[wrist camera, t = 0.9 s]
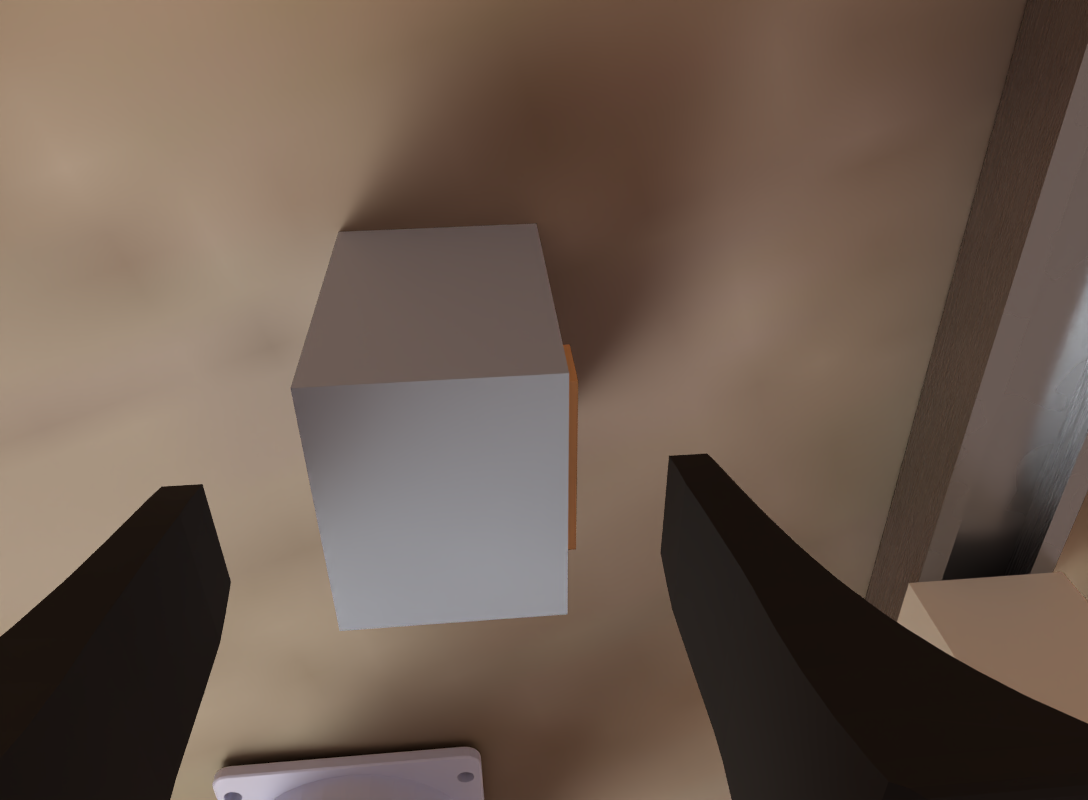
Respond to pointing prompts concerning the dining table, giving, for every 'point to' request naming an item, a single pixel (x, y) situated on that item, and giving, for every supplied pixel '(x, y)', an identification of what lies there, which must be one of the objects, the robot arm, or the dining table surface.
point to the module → (440, 427)
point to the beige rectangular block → (1010, 632)
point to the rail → (1007, 343)
